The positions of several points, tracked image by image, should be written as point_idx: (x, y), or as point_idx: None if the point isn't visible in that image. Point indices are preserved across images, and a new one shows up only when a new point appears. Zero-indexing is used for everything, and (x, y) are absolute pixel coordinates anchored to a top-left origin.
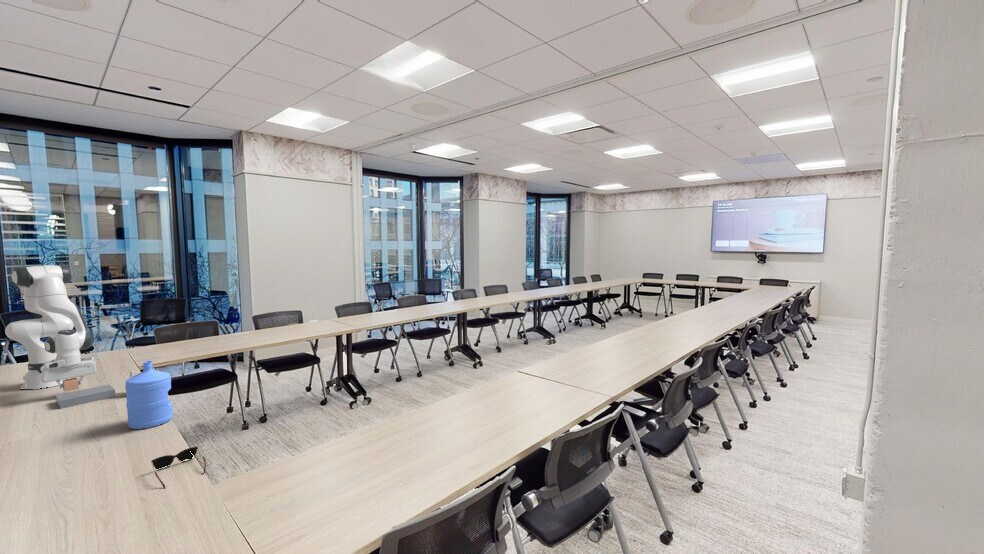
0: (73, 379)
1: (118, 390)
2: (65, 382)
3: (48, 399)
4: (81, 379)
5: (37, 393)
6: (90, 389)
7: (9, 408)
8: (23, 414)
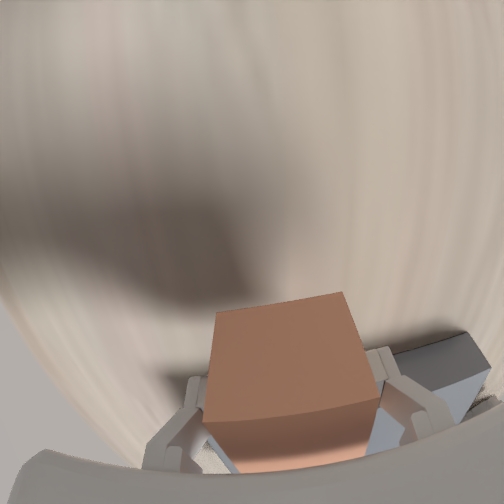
0: (332, 445)
1: (490, 335)
2: (252, 470)
3: (128, 273)
4: (402, 419)
5: (27, 4)
6: (388, 424)
7: (11, 316)
8: (127, 435)
